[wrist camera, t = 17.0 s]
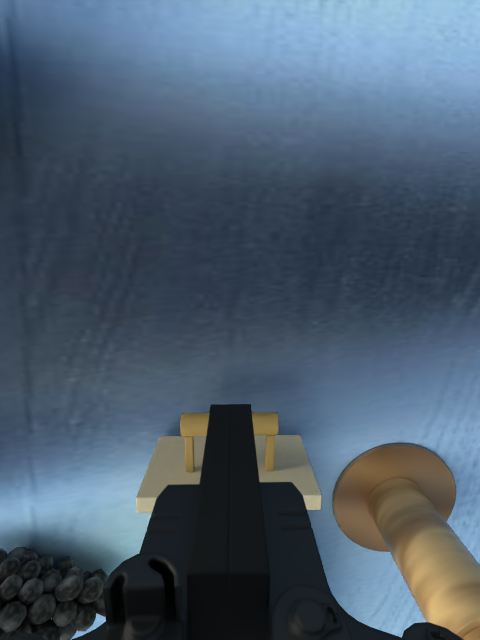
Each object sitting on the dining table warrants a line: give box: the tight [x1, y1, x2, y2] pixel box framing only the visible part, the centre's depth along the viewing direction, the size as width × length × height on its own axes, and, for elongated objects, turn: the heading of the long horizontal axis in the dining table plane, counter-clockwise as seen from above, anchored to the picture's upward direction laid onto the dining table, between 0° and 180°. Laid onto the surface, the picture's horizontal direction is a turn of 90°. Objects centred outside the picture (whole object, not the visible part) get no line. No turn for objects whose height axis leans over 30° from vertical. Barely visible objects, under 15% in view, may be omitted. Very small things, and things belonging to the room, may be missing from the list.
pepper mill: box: [368, 478, 480, 640], centre depth 24 cm, size 5×5×16 cm
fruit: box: [0, 547, 108, 640], centre depth 29 cm, size 9×8×15 cm
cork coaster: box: [332, 443, 456, 552], centre depth 32 cm, size 12×12×1 cm
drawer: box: [136, 412, 322, 513], centre depth 27 cm, size 20×13×7 cm, turn 0°
